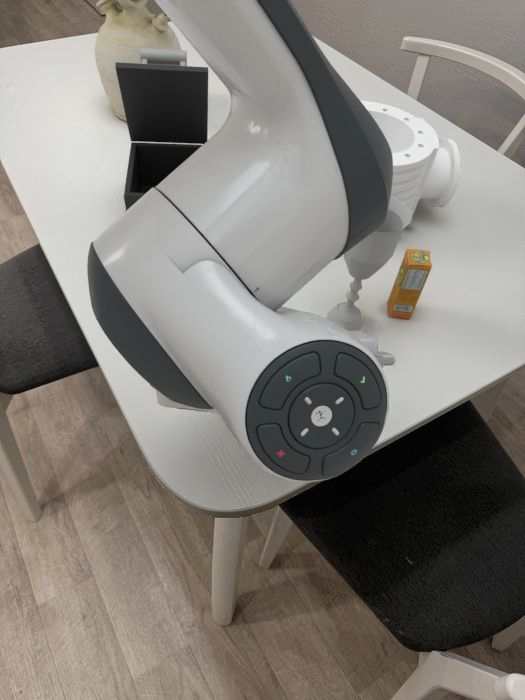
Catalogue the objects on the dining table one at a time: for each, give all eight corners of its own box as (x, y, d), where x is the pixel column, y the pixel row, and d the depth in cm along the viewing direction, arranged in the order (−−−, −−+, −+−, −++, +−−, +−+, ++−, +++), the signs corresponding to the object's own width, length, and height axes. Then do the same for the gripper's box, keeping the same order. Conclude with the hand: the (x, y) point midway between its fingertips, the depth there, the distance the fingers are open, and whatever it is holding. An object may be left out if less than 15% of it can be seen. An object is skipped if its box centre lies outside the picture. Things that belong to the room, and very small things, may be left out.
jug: (88, 103, 100) (59, -56, 80) (155, 84, 107) (144, -67, 87) (132, 138, 93) (112, -25, 74) (200, 115, 100) (198, -39, 81)
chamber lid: (208, 72, 66) (207, 39, 67) (115, 67, 64) (116, 34, 66) (207, 144, 79) (207, 116, 81) (130, 141, 78) (131, 113, 79)
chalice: (333, 346, 67) (367, 238, 53) (309, 310, 71) (335, 199, 56) (380, 332, 69) (424, 224, 55) (354, 297, 73) (390, 188, 59)
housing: (229, 244, 78) (233, 160, 67) (221, 161, 91) (223, 80, 80) (445, 244, 82) (483, 165, 71) (407, 165, 96) (434, 88, 85)
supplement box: (384, 300, 73) (406, 245, 65) (408, 303, 73) (433, 249, 65) (385, 317, 71) (408, 263, 63) (410, 320, 71) (436, 267, 63)
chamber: (208, 241, 78) (208, 197, 72) (130, 240, 76) (123, 195, 70) (207, 188, 86) (207, 144, 80) (136, 186, 85) (131, 141, 79)
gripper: (405, 322, 40) (352, 313, 53) (135, 322, 37) (152, 312, 51) (402, 402, 40) (350, 373, 54) (136, 407, 38) (153, 375, 52)
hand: (252, 343), depth 52 cm, fingers closed on pill bottle, 6 cm apart
